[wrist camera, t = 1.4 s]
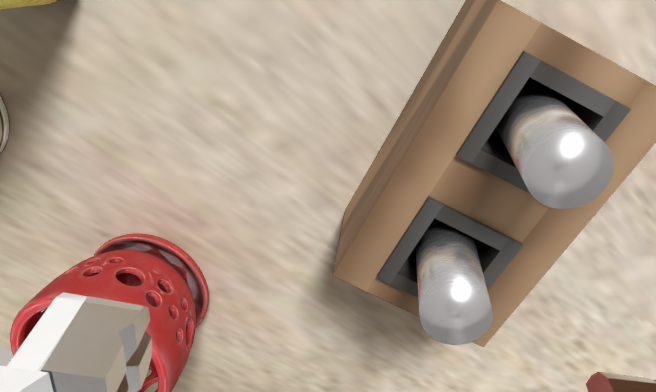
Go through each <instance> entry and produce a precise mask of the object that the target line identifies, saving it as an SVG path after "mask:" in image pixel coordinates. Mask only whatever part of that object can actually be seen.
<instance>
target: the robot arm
mask: <svg viewBox="0 0 656 392" xmlns="http://www.w3.org/2000/svg"><path fill="white" fill-rule="evenodd" d="M149 322H150V315H149V308H148V307H146V306H142V305H136V304H131V303H125V302H119V301H113V300H107V299H102V298H96V297H88V296H82V295H76V294H70V293H64V292H63V293H61V294H60V295H59V296H57V297H56V298H55V299H54V300H53V301H52V303H51V304H50V305H49V307H48V308H47V310H46V311H45V312H44V314H43V315H42V317H41V318H40V319H39V321H38V322H37V324H36V325H35V326H34V328H33V329H32V331H31V332H30V333H29V335H28V336H27V338H26V339H25V340H24V342H23V343H22V345H21V346H20V347H19V349H18V350H17V352H16V353H15V355H14V356H13V357H12V359H11V360H10V362H9V363H8V364H7V366H2V365H0V392H137V391H139V390H140V389H141V388H142V385H143V383H144V380H145V378H146V376H147V372H148V369H149V365H150V361H151V355H152V337H151V336H150V335H149V334H148V333H147V332H146V331H145V330H146V328H147V326H148V324H149ZM586 386H587V389H588V391H589V392H656V380H652V379H648V378H641V377H634V376H626V375H619V374H611V373H604V372H597V373H595V374H593V375H592V376H591V377H590V379H589V380H588V382H587V383H586Z"/></svg>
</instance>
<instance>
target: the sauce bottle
mask: <svg viewBox="0 0 656 392" xmlns="http://www.w3.org/2000/svg"><path fill="white" fill-rule="evenodd" d="M55 1H60V0H0V9H9V8H17V7H25V6H35V5H45V4H50V3H53V2H55Z"/></svg>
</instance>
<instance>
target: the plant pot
mask: <svg viewBox="0 0 656 392" xmlns="http://www.w3.org/2000/svg"><path fill="white" fill-rule="evenodd" d="M63 292H64V293H70V294H76V295H82V296H88V297H96V298H102V299H107V300H113V301H119V302H125V303H131V304H136V305H142V306H146V307H148V308H149V315H150V322H149V324H148V326H147V328H146V330H145V331H146V332H147V333H148V334H149V335H150V336H151V337H152V355H151V361H150V365H149V369H151V370H152V373H151V374H150V375H149V376H148V377H147V378H145V380H144V383H143V385H142V388H141V389H140V390H139V391H137V392H144V391H145V390H146V388H148V387H149V386H150V385H152V384H154V383H156V382H158V389H157V390H156V391H155V392H171V391H172V390H173V388H174V386H175V384H176V382H177V380H178V378H179V376H180V374H181V372H182V370H183V368H184V366H185V364H186V362H187V359H188V355H189V352H190V349H191V346H192V343H193V338H194V333H195V328H196V327H197V326H198V325H199V323H200V322H201V321H202V319H203V318H204V316H205V313H206V311H207V307H208V300H209V293H208V287H207V283H206V280H205V278H204V276H203V274H202V272H201V270H200V268H199V267H198V265H197V264H196V263H195V261H194V260H193V259H192V258H191V257H190V256H189V255H188V254H187V253H186V252H185V251H183V250H182V249H181V248H179V247H178V246H176V245H175V244H173V243H171V242H169V241H167V240H165V239H162V238H160V237H156V236H153V235H147V234H127V235H123V236H119V237H116V238H114V239H111V240H110V241H108V242H106V243H105V244H103V245H102V246H101V247H100V248H99V249H98V250H97V251H96V253H95V254H94V256H93V257H91V258H88V259H86V260H84V261H82V262H80V263H79V264H77V265H75V266H73V267H72V268H70V269H69V270H67V271H66V272H64V273H63V274H61V275H60V276H59V277H57V278H56V279H54V280H53V281H52V282H51V283H50V284H48V285H47V286H46V287H45V288H44V289H43V290H41V291H40V292H39V293H38V294H37V295H36V296H35V297H34V298H33V299H32V300H30V301H29V302H28V303H27V304H26V305H25V306H24V307H23V308H22V309H21V310H20V311H19V313H18V314H17V316H16V318H15V319H14V322H13V324H12V328H11V333H10V342H11V349H12V353H13V356H14V355H15V353H16V352H17V350H18V349H19V347H20V346H21V345H22V343H23V342H24V340H25V339H26V338H27V336H28V335H29V333H30V332H31V331H32V329H33V328H34V326H35V325H36V324H37V322H38V321H39V319H40V318H41V317H42V315H43V314H44V312H45V311H46V310H47V308H48V307H49V305H50V304H51V303H52V301H53V300H54V299H55V298H56V297H57V296H59V295H60V294H61V293H63ZM42 310H44V311H43V312H41V311H42Z"/></svg>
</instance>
